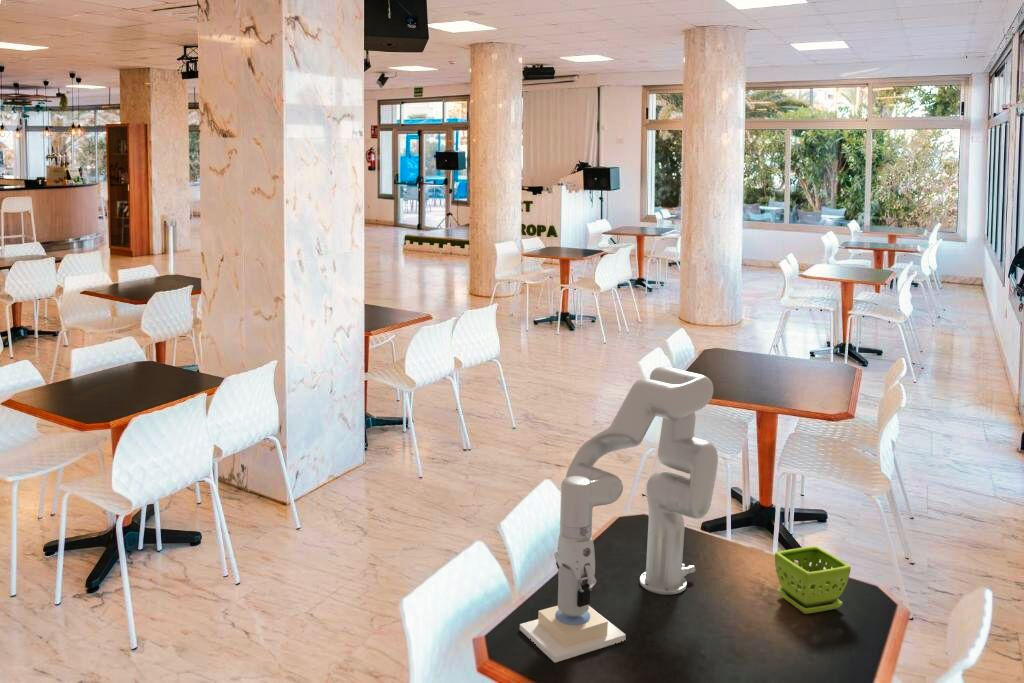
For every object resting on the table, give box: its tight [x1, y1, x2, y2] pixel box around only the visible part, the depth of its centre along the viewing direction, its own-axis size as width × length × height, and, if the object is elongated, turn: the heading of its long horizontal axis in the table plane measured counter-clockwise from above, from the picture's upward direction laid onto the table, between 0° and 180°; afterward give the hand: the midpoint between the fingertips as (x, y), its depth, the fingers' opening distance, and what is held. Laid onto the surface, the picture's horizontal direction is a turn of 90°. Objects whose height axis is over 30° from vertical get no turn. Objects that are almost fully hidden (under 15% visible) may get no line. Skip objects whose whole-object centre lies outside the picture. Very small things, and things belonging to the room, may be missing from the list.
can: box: [557, 564, 590, 616], centre depth 208 cm, size 8×8×12 cm
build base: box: [519, 605, 627, 663], centre depth 210 cm, size 20×16×5 cm
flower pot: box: [774, 545, 852, 615], centre depth 226 cm, size 14×14×13 cm
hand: (573, 597), depth 209 cm, fingers closed on can, 7 cm apart
